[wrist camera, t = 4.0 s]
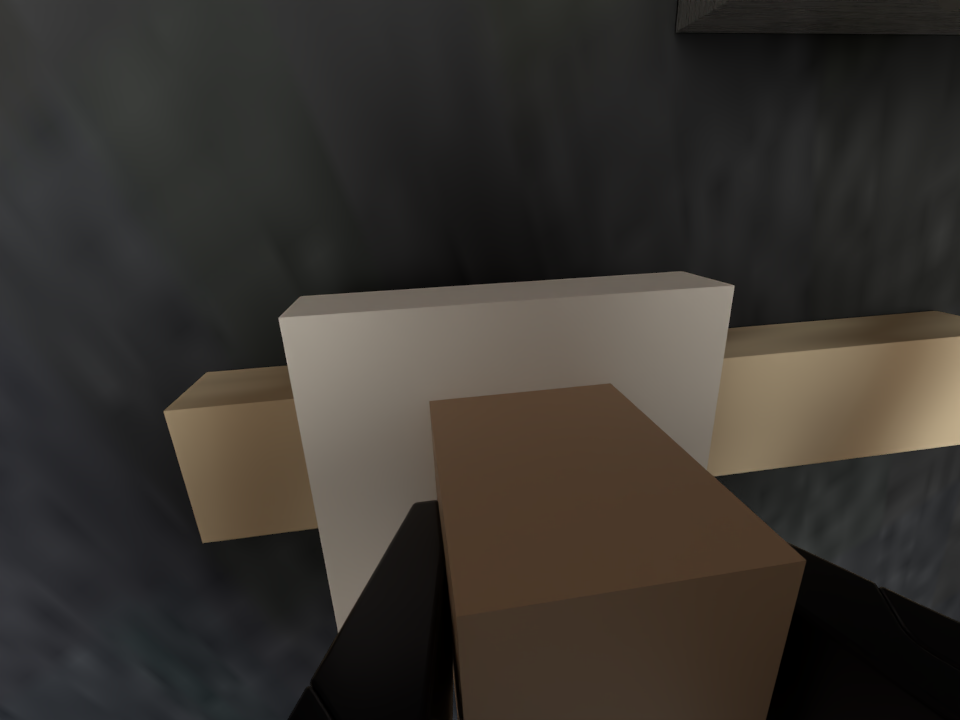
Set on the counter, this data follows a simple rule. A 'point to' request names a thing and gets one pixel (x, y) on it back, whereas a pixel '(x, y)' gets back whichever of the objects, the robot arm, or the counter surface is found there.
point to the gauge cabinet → (820, 16)
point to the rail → (735, 438)
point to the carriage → (550, 488)
